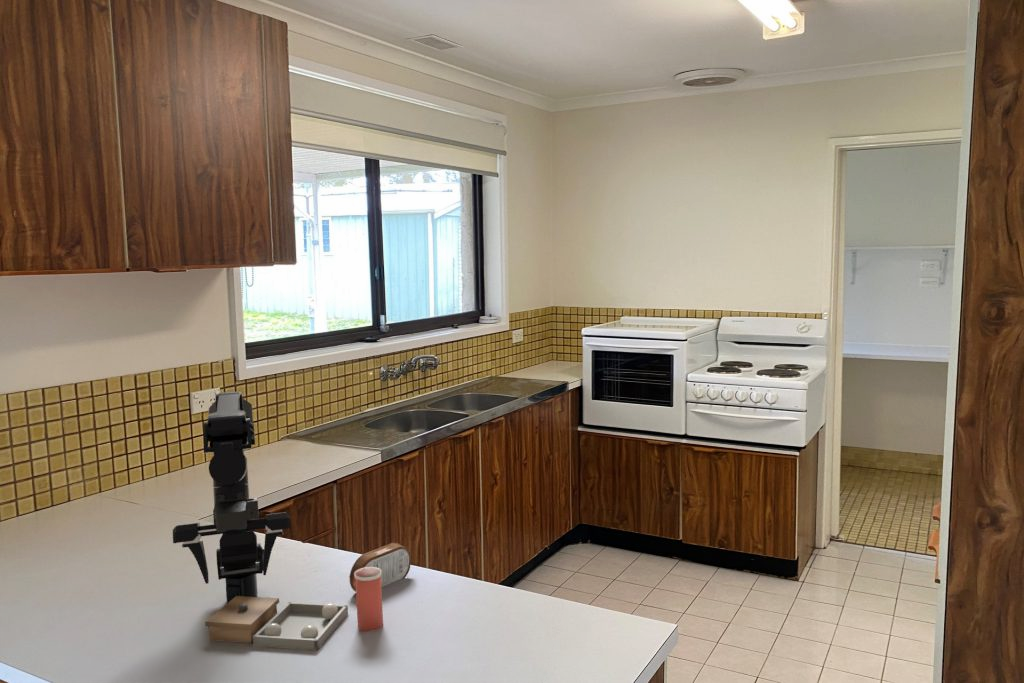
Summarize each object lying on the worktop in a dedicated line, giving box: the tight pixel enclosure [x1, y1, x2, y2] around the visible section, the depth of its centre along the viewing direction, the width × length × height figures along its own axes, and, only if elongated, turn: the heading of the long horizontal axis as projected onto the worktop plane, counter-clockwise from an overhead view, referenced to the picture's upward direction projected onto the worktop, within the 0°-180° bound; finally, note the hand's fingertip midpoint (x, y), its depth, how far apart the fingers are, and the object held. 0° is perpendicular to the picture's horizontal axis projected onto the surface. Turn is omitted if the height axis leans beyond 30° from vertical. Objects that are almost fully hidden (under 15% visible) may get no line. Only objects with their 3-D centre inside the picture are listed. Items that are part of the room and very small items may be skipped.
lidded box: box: [204, 596, 280, 644], centre depth 147 cm, size 11×9×5 cm
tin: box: [349, 542, 412, 593], centre depth 165 cm, size 15×3×8 cm, turn 141°
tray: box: [252, 601, 349, 651], centre depth 146 cm, size 14×12×2 cm
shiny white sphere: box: [264, 623, 282, 636], centre depth 142 cm, size 3×3×3 cm
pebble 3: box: [322, 602, 338, 620], centre depth 149 cm, size 3×3×3 cm
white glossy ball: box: [301, 625, 318, 639], centre depth 141 cm, size 3×3×3 cm
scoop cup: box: [354, 567, 384, 632], centre depth 146 cm, size 5×5×11 cm
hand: (236, 579), depth 134 cm, fingers open, 9 cm apart
